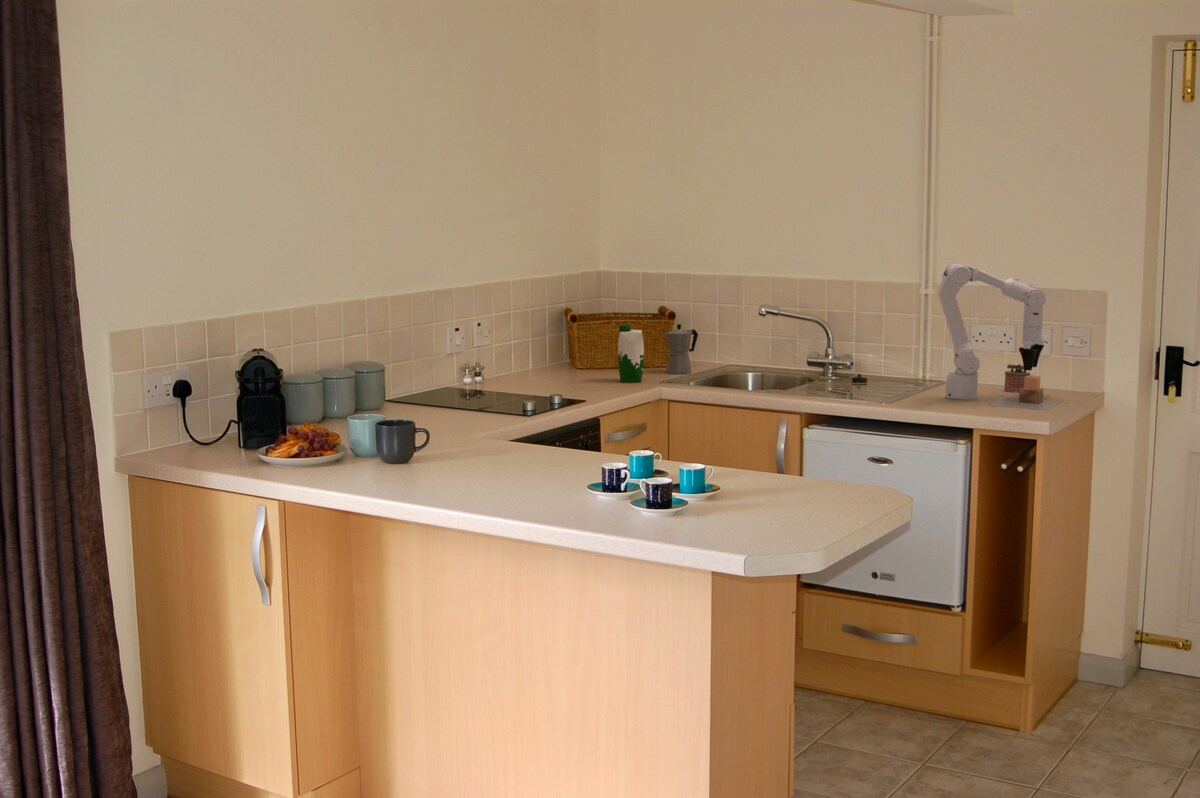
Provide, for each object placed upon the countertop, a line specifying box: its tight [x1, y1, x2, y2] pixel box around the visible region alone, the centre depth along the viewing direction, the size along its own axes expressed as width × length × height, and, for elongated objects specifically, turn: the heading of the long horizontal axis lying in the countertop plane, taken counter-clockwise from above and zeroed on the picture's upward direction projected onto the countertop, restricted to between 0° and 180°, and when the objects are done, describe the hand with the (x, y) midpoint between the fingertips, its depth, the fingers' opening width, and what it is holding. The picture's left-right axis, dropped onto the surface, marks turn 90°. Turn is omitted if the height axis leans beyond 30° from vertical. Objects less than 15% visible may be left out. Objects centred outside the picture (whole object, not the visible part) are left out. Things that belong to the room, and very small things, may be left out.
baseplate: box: [988, 396, 1061, 411], centre depth 401 cm, size 18×18×1 cm
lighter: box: [1003, 363, 1031, 393], centre depth 422 cm, size 8×3×10 cm, turn 65°
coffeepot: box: [664, 323, 699, 376], centre depth 472 cm, size 15×9×18 cm, turn 125°
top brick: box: [1024, 374, 1041, 390], centre depth 403 cm, size 4×4×4 cm
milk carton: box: [617, 324, 645, 384], centre depth 453 cm, size 9×9×20 cm
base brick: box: [1018, 387, 1044, 404], centre depth 403 cm, size 6×6×4 cm
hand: (1030, 368), depth 409 cm, fingers open, 7 cm apart
